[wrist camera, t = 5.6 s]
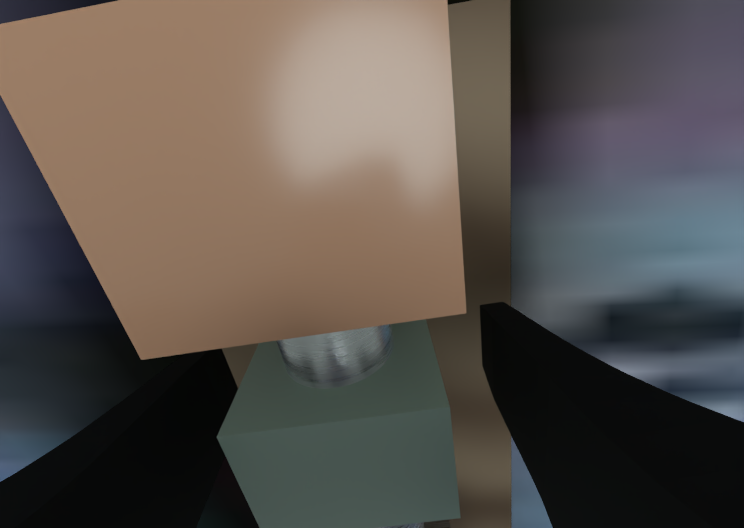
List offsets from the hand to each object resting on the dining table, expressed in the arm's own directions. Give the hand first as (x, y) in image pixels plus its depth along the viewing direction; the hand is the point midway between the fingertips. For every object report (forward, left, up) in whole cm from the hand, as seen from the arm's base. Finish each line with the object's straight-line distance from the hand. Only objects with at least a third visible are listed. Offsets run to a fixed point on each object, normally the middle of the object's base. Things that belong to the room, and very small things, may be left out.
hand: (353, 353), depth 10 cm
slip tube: (-2, 0, 0) cm, 2 cm away
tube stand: (-5, 0, -3) cm, 5 cm away
